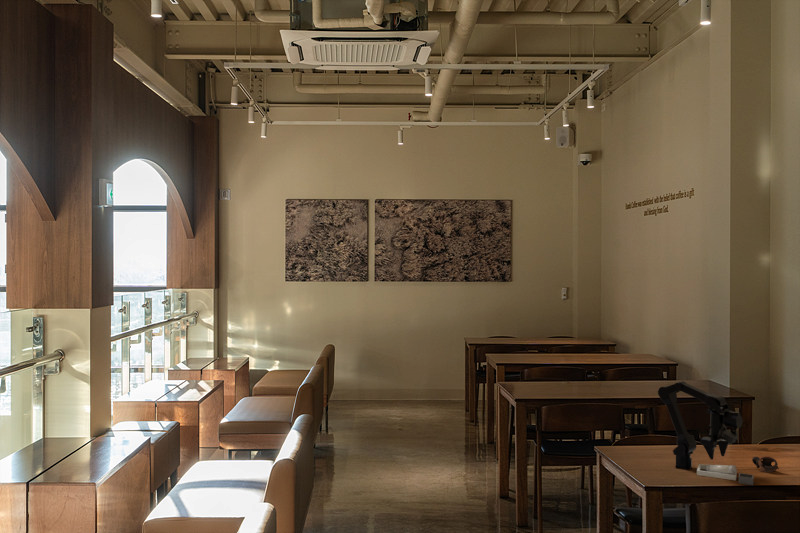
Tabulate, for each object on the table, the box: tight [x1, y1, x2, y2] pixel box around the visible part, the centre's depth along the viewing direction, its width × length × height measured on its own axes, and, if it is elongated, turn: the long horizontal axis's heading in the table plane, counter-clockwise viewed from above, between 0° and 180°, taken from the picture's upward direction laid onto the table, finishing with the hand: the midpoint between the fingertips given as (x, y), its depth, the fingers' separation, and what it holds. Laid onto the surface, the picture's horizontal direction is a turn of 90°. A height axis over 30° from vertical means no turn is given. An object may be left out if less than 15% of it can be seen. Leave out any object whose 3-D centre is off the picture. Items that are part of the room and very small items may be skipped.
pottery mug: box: [751, 455, 780, 473], centre depth 316 cm, size 12×10×8 cm
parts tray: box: [696, 463, 737, 481], centre depth 309 cm, size 16×12×3 cm
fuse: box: [705, 463, 738, 475], centre depth 308 cm, size 4×4×12 cm
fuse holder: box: [738, 472, 754, 486], centre depth 298 cm, size 6×6×4 cm
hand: (717, 457), depth 309 cm, fingers open, 9 cm apart
